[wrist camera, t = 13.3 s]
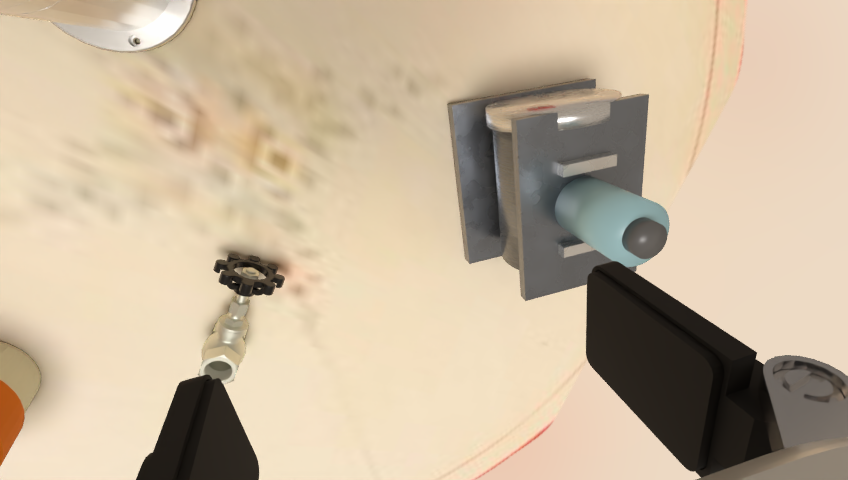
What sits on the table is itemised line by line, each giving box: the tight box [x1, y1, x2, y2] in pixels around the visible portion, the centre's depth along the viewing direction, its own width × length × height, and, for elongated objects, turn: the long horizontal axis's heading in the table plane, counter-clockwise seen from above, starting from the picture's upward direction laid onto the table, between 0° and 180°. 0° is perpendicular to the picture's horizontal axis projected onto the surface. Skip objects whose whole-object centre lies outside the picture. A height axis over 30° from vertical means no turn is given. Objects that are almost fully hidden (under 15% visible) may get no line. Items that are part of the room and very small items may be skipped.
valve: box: [198, 254, 285, 384], centre depth 44 cm, size 7×7×12 cm
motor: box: [448, 79, 649, 301], centre depth 44 cm, size 18×16×13 cm
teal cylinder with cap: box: [555, 176, 669, 267], centre depth 35 cm, size 5×5×9 cm
